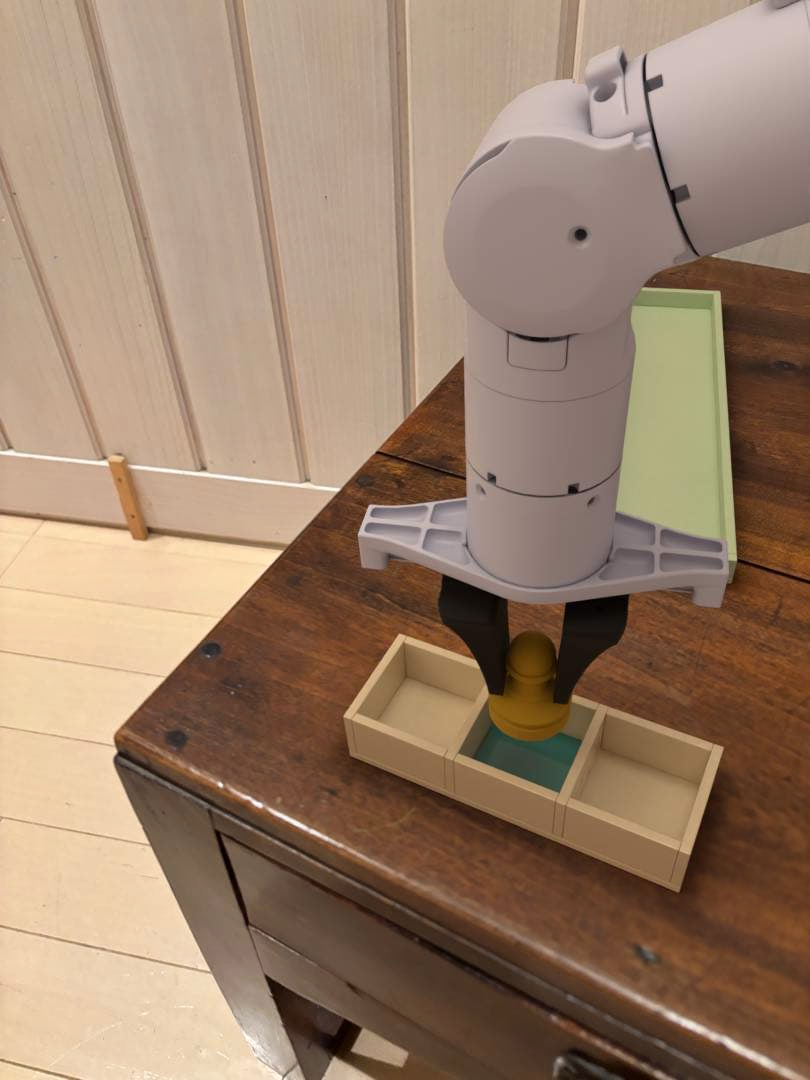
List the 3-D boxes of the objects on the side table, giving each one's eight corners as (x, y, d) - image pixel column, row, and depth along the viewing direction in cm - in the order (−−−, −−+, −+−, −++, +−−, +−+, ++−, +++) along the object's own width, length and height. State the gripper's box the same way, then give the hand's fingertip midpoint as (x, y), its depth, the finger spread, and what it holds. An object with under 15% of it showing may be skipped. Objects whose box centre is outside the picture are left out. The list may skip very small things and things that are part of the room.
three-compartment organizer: (712, 787, 46) (724, 746, 44) (679, 893, 42) (690, 855, 40) (403, 673, 53) (399, 632, 51) (349, 756, 49) (342, 716, 47)
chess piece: (588, 712, 44) (596, 643, 40) (525, 756, 42) (529, 687, 39) (532, 662, 46) (536, 593, 43) (471, 702, 45) (470, 633, 41)
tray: (731, 584, 57) (737, 560, 55) (580, 568, 59) (582, 544, 57) (716, 311, 81) (720, 290, 80) (610, 306, 83) (612, 285, 82)
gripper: (745, 401, 35) (691, 638, 44) (377, 375, 38) (398, 602, 47) (755, 522, 30) (692, 761, 39) (331, 482, 33) (364, 713, 42)
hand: (530, 682), depth 43 cm, fingers closed on chess piece, 2 cm apart
